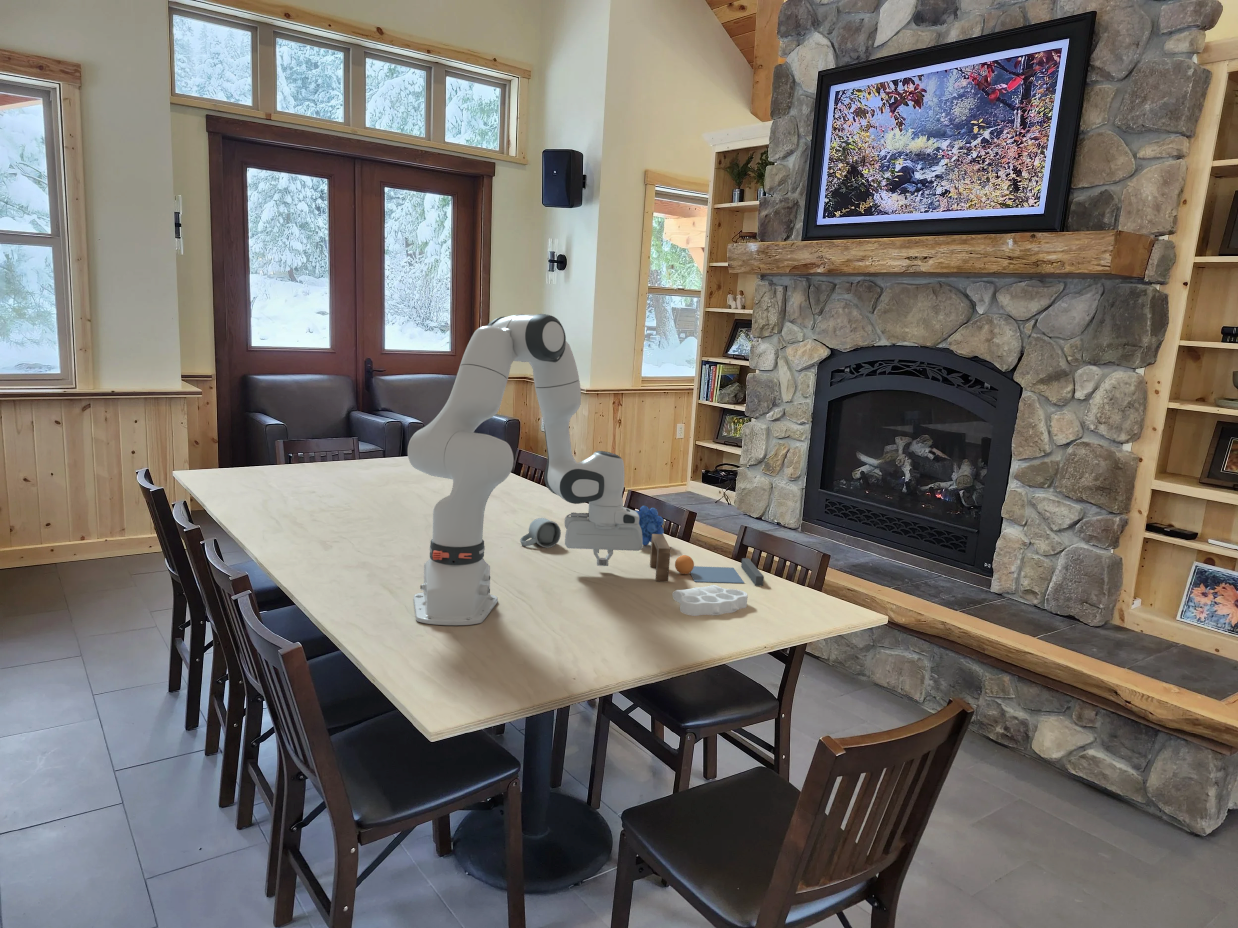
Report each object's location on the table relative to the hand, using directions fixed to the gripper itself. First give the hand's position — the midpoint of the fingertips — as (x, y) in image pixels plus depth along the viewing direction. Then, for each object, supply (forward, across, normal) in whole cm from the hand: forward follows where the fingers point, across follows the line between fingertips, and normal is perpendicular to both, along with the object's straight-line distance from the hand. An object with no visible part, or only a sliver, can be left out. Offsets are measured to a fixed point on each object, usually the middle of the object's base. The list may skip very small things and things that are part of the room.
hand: (602, 565), depth 218 cm
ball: (-1, +22, 0) cm, 22 cm away
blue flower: (+2, +15, +26) cm, 30 cm away
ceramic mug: (+2, -17, +24) cm, 29 cm away
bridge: (+2, +15, 0) cm, 15 cm away
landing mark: (+2, +30, 0) cm, 30 cm away
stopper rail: (+2, +40, 0) cm, 40 cm away
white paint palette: (+2, +24, -24) cm, 34 cm away
